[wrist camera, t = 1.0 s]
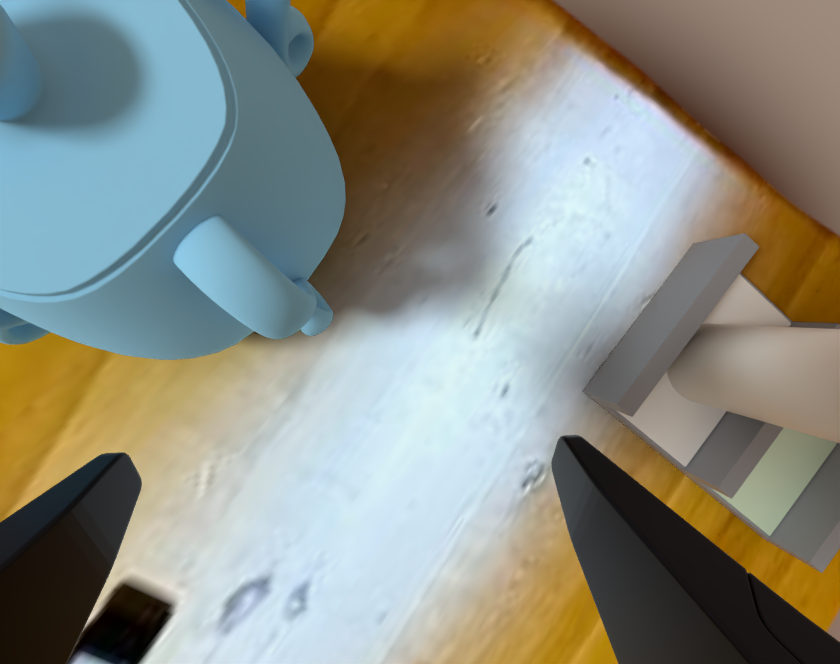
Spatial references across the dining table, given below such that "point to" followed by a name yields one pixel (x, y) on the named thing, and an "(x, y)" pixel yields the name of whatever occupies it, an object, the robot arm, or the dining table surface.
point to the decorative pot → (161, 175)
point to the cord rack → (718, 429)
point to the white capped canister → (765, 375)
